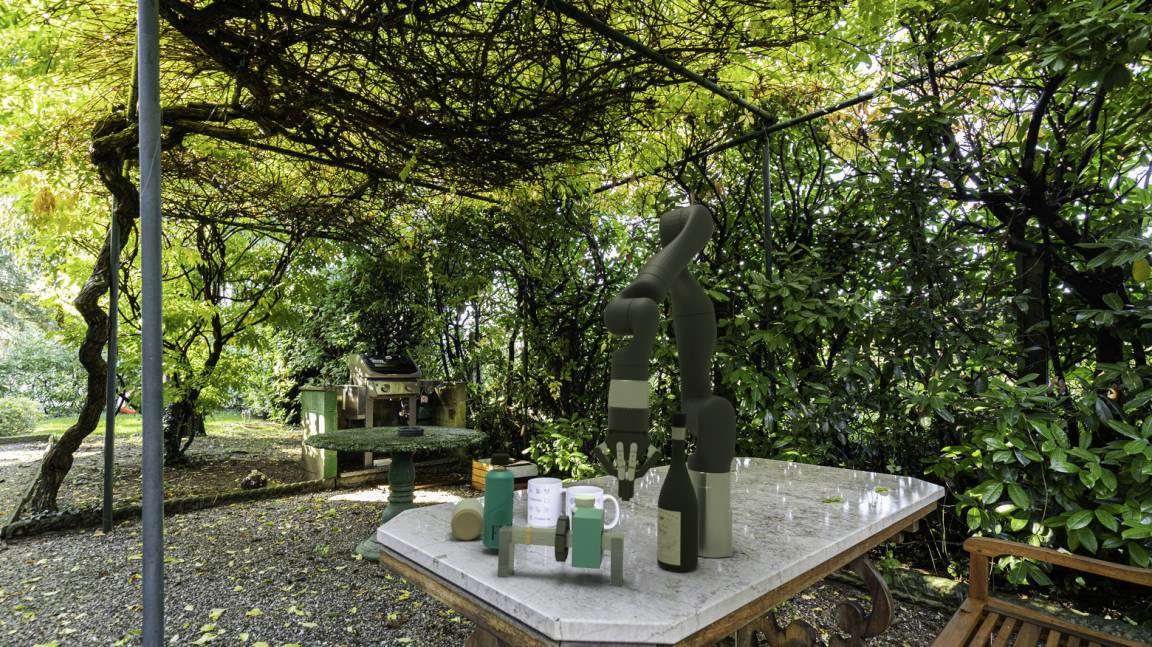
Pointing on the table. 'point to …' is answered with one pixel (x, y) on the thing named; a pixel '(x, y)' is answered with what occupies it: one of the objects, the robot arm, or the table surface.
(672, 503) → the wine bottle
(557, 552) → the o ring
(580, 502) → the pill bottle
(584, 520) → the sleeve
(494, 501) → the beverage bottle
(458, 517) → the beige cylinder
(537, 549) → the table surface
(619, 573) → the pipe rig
